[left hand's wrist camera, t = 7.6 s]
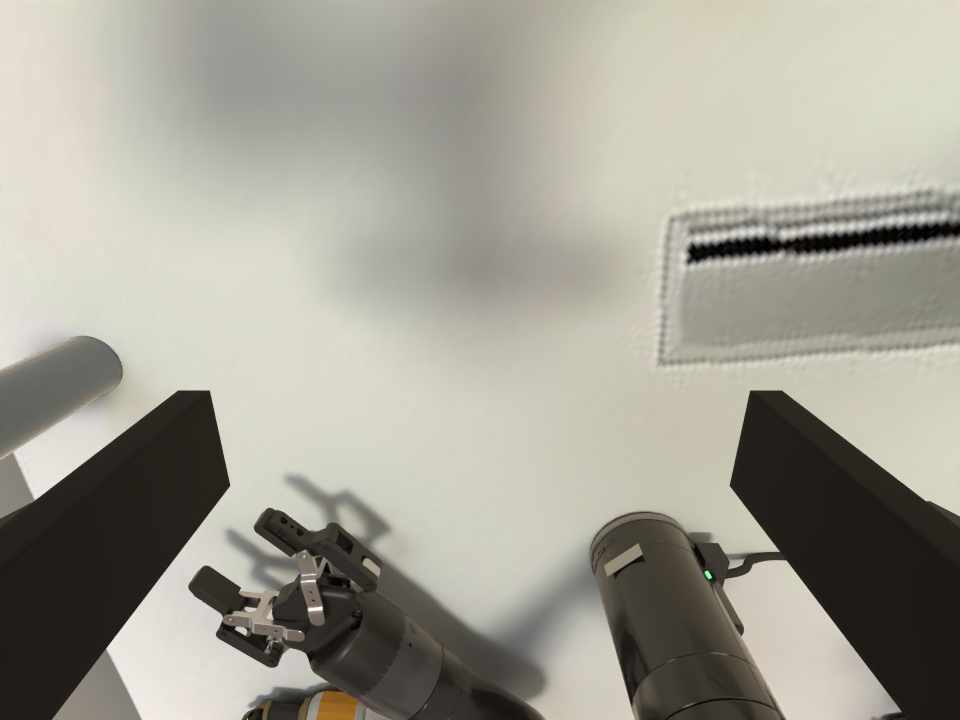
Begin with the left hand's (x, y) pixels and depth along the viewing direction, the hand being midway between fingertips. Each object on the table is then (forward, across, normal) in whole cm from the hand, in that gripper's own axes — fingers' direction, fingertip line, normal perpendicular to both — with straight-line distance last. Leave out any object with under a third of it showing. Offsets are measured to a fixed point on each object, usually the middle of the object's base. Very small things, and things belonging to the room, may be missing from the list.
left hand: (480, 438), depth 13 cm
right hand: (+21, -20, -22) cm, 37 cm away
